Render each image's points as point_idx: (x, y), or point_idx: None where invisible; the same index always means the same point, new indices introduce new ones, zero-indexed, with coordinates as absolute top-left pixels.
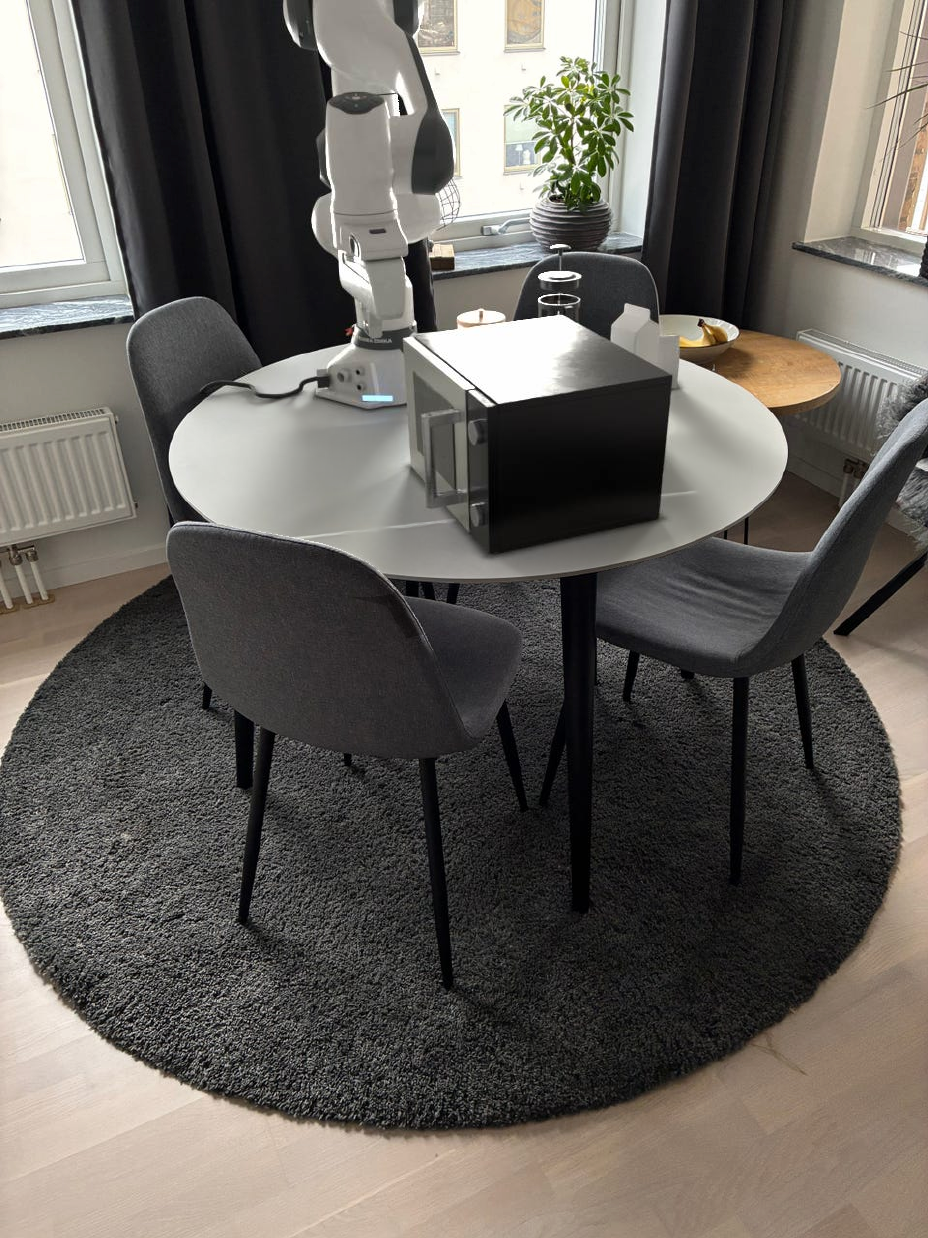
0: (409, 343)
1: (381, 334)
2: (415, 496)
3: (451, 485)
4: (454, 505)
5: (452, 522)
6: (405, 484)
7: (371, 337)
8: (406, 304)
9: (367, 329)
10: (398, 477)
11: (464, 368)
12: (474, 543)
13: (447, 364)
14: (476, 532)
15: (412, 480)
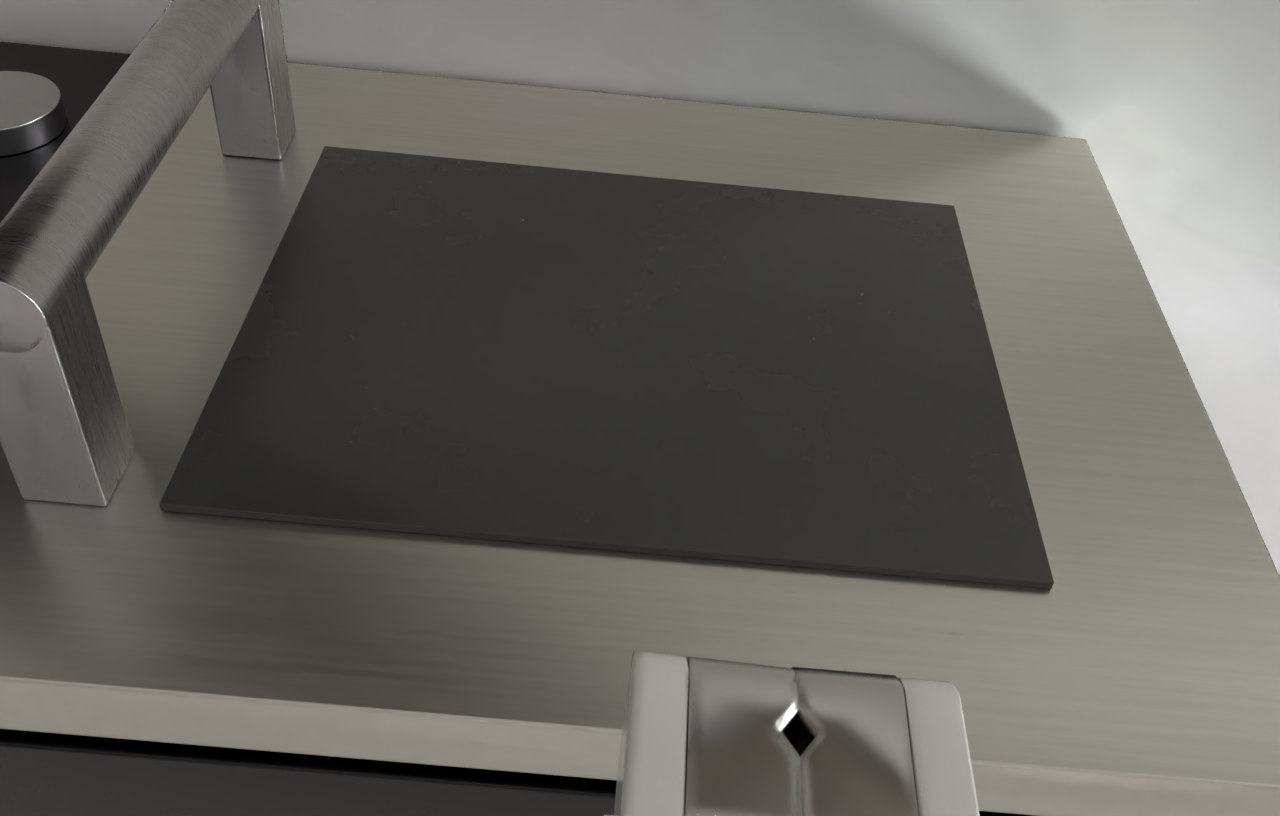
0: (1187, 780)
1: (618, 766)
2: (728, 2)
3: (373, 155)
4: (380, 102)
5: (350, 36)
6: (902, 19)
7: (632, 655)
8: None
9: (768, 740)
10: (1012, 23)
11: (290, 804)
12: (96, 28)
13: (482, 771)
14: (99, 70)
15: (923, 72)
